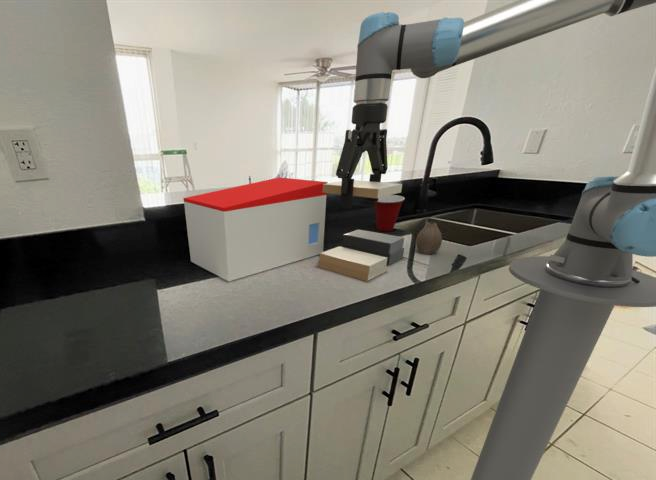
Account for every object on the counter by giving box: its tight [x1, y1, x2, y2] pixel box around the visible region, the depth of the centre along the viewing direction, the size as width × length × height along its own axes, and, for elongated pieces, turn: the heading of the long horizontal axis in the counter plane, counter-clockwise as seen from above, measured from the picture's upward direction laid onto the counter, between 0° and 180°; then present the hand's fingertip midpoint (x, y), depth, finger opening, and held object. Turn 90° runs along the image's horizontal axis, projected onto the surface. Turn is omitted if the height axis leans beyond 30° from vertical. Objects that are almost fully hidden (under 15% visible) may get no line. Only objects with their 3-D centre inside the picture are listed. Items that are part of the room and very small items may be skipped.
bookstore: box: [183, 176, 329, 282], centre depth 97 cm, size 21×35×21 cm, turn 127°
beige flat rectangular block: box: [322, 179, 403, 198], centre depth 82 cm, size 15×11×2 cm
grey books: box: [342, 229, 405, 266], centre depth 98 cm, size 15×9×6 cm, turn 42°
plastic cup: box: [373, 194, 406, 232], centre depth 125 cm, size 11×11×12 cm
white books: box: [317, 245, 388, 282], centre depth 89 cm, size 15×9×4 cm, turn 42°
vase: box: [415, 222, 443, 255], centre depth 99 cm, size 7×7×9 cm
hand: (359, 203), depth 84 cm, fingers closed on beige flat rectangular block, 11 cm apart
